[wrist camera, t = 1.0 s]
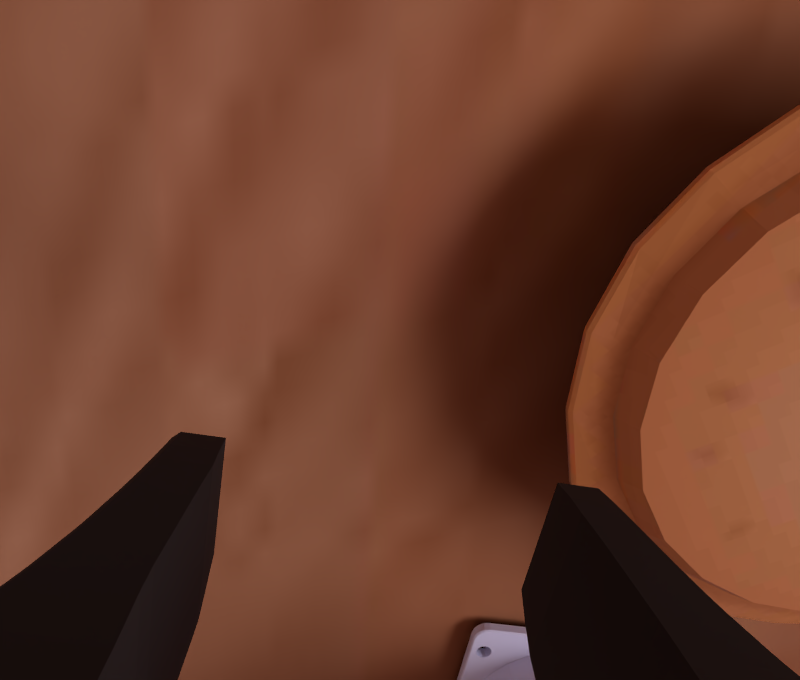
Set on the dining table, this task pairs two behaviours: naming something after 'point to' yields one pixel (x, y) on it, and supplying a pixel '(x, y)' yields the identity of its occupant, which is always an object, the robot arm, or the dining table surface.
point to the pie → (706, 380)
